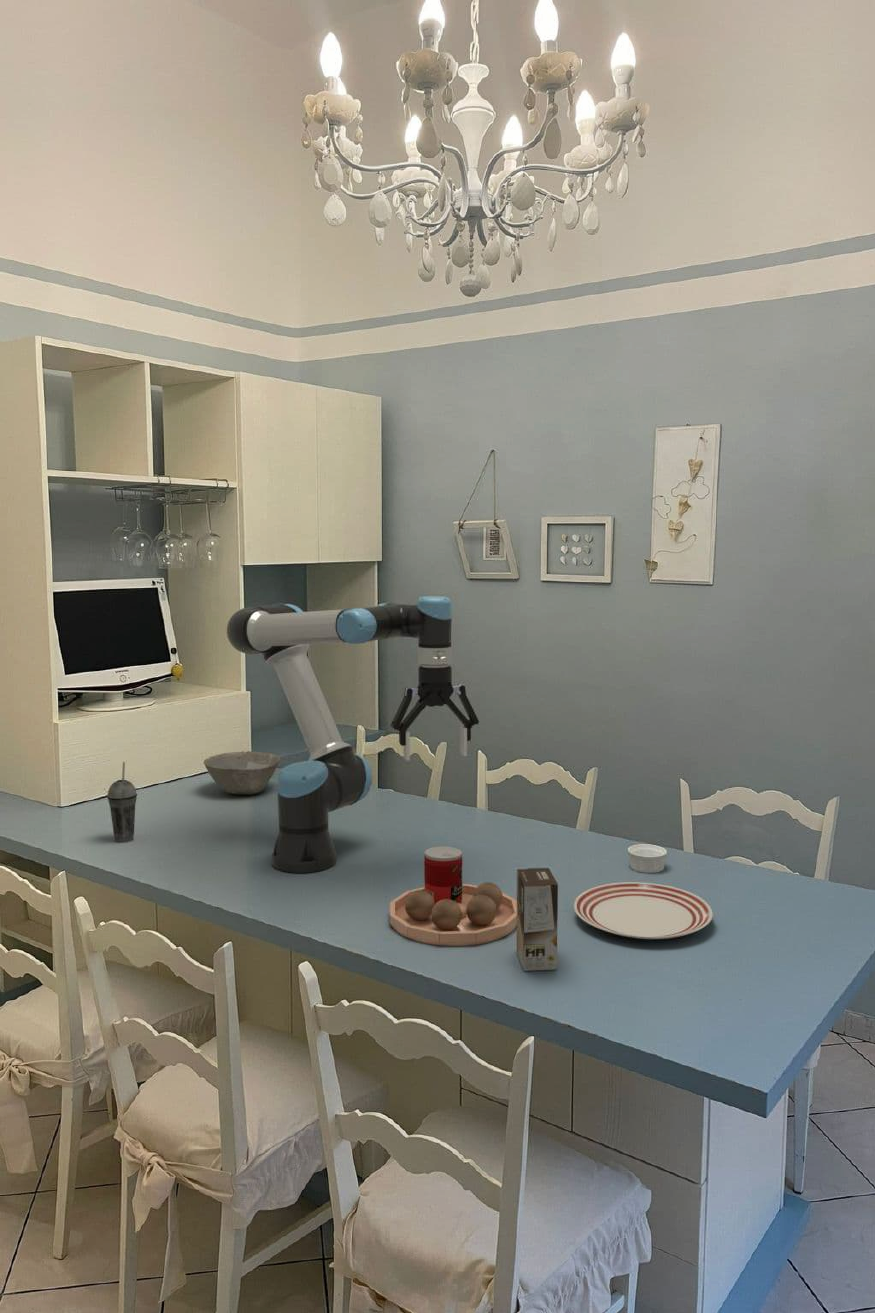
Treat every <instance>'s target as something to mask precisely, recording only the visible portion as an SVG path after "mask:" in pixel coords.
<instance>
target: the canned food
mask: <svg viewBox="0 0 875 1313" xmlns="http://www.w3.org/2000/svg"><path fill="white" fill-rule="evenodd" d="M423 856H424V859H423V862H424V864H423V865H424V887H425V891H426V892H428V893H429V894H430V895H431V896H432V897H433V899H434V903H435V904H436V903H437V902H438V901H440V900H443V899H450V900H453V901H455V902H456V903H461V901H462V884H463V851H462V850H461V849H459V848H457V847H451V846H441V845H440V846H433V847H430V848H427V849H425V851H424V855H423Z"/></svg>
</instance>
